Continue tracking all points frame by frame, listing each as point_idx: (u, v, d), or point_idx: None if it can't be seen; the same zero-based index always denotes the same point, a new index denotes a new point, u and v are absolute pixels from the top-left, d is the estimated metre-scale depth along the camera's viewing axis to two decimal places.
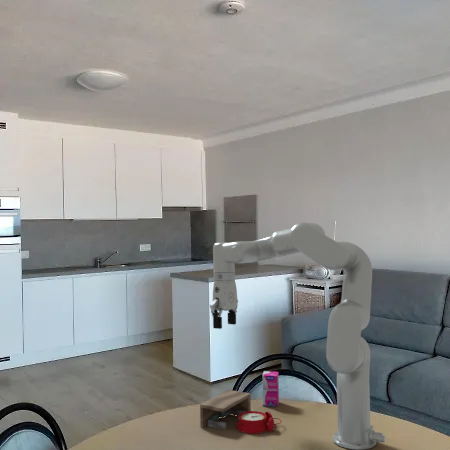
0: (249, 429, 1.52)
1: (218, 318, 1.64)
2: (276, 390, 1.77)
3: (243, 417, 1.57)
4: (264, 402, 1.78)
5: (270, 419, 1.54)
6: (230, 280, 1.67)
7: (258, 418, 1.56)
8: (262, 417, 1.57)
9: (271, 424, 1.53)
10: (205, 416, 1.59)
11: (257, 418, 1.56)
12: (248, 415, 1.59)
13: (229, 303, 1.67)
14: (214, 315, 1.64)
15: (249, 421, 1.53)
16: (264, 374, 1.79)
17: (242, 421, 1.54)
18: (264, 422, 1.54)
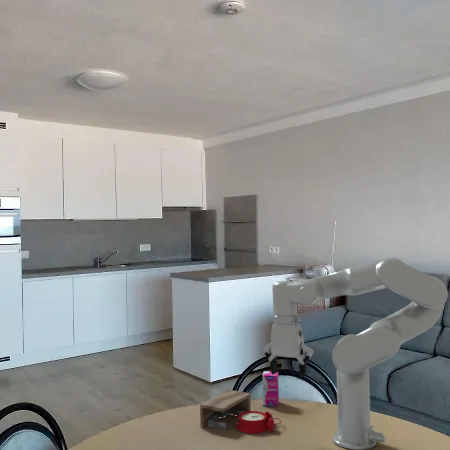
0: (249, 429, 1.52)
1: None
2: (276, 390, 1.77)
3: (243, 417, 1.57)
4: (264, 402, 1.78)
5: (270, 419, 1.54)
6: None
7: (258, 418, 1.56)
8: (262, 417, 1.57)
9: (271, 424, 1.53)
10: (205, 416, 1.59)
11: (257, 418, 1.56)
12: (248, 415, 1.59)
13: None
14: (306, 362, 1.49)
15: (249, 421, 1.53)
16: (264, 374, 1.79)
17: (242, 421, 1.54)
18: (264, 422, 1.54)
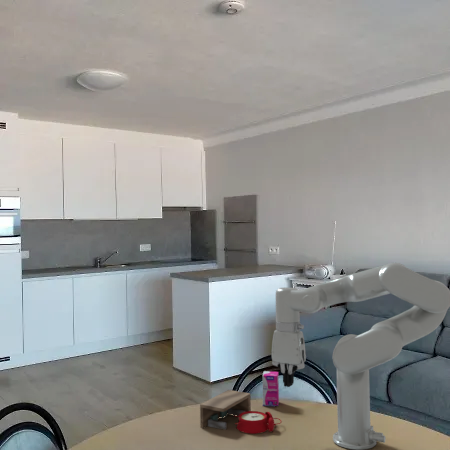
0: (249, 429, 1.52)
1: None
2: (276, 390, 1.77)
3: (243, 417, 1.57)
4: (264, 402, 1.78)
5: (270, 419, 1.54)
6: None
7: (258, 418, 1.56)
8: (262, 417, 1.57)
9: (271, 424, 1.53)
10: (205, 416, 1.59)
11: (257, 418, 1.56)
12: (248, 415, 1.59)
13: None
14: (293, 372, 1.51)
15: (249, 421, 1.53)
16: (264, 374, 1.79)
17: (242, 421, 1.54)
18: (264, 422, 1.54)
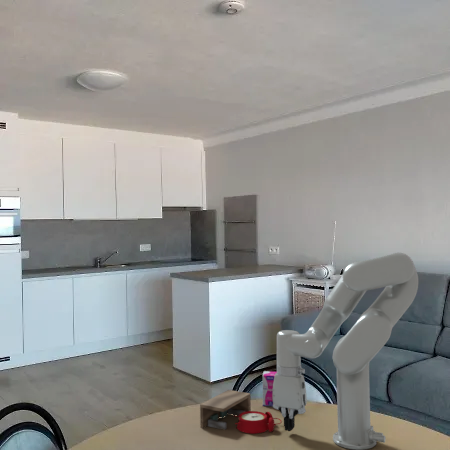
0: (249, 429, 1.52)
1: None
2: None
3: (243, 417, 1.57)
4: (264, 402, 1.78)
5: (270, 419, 1.54)
6: None
7: (258, 418, 1.56)
8: (262, 417, 1.57)
9: (271, 424, 1.53)
10: (205, 416, 1.59)
11: (257, 418, 1.56)
12: (248, 415, 1.59)
13: None
14: (294, 416, 1.50)
15: (249, 421, 1.53)
16: (264, 374, 1.79)
17: (242, 421, 1.54)
18: (264, 422, 1.54)
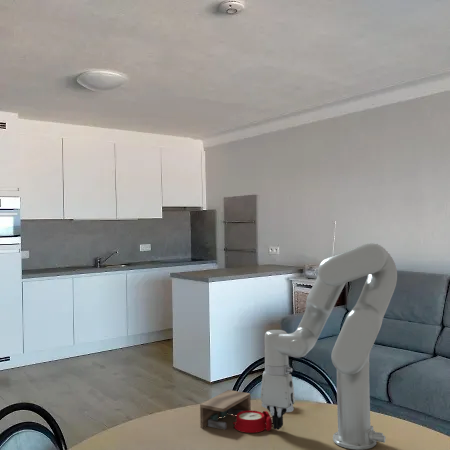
0: (247, 428, 1.53)
1: None
2: None
3: (241, 416, 1.57)
4: None
5: (268, 418, 1.54)
6: None
7: (256, 417, 1.56)
8: (260, 416, 1.57)
9: (269, 423, 1.53)
10: (205, 416, 1.59)
11: (255, 417, 1.56)
12: (246, 414, 1.59)
13: None
14: (282, 414, 1.52)
15: (247, 420, 1.53)
16: None
17: (240, 420, 1.54)
18: (262, 421, 1.55)
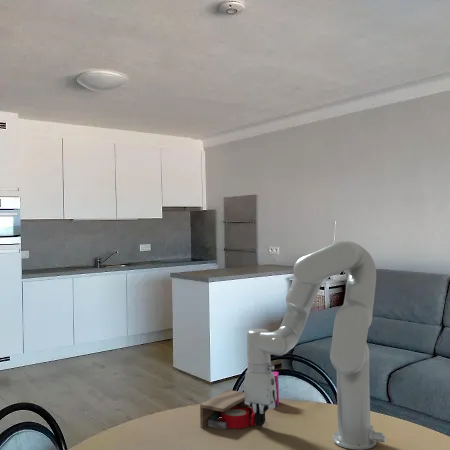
0: (233, 424, 1.56)
1: None
2: (276, 390, 1.77)
3: (226, 413, 1.61)
4: None
5: (253, 414, 1.58)
6: None
7: (241, 413, 1.60)
8: (245, 412, 1.61)
9: (254, 419, 1.57)
10: (205, 416, 1.59)
11: (240, 413, 1.60)
12: (231, 411, 1.63)
13: None
14: (265, 411, 1.55)
15: (232, 416, 1.57)
16: None
17: (226, 417, 1.58)
18: (247, 417, 1.59)
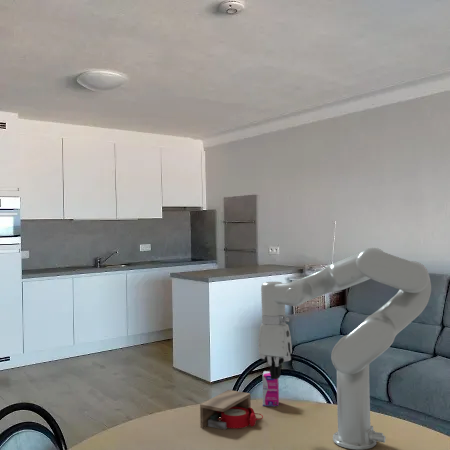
0: (232, 424, 1.57)
1: None
2: (276, 390, 1.77)
3: (226, 413, 1.61)
4: (264, 402, 1.78)
5: (252, 414, 1.58)
6: None
7: (240, 413, 1.60)
8: (244, 412, 1.61)
9: (253, 419, 1.57)
10: (205, 416, 1.59)
11: (239, 413, 1.60)
12: (231, 411, 1.63)
13: None
14: (280, 364, 1.53)
15: (231, 416, 1.57)
16: (264, 374, 1.79)
17: (225, 416, 1.58)
18: (246, 417, 1.59)
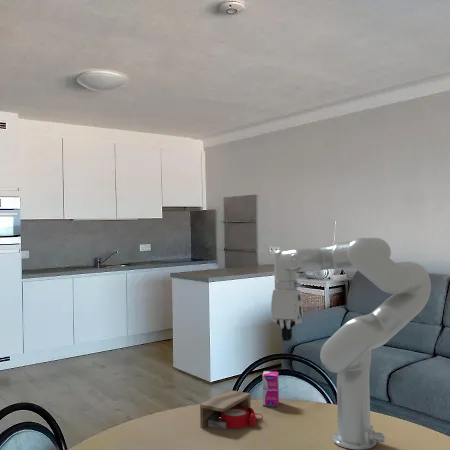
0: (231, 424, 1.57)
1: None
2: (276, 390, 1.77)
3: (226, 413, 1.61)
4: (264, 402, 1.78)
5: (252, 414, 1.58)
6: None
7: (240, 413, 1.60)
8: (244, 412, 1.61)
9: (253, 419, 1.57)
10: (205, 416, 1.59)
11: (239, 413, 1.60)
12: (231, 411, 1.63)
13: None
14: (291, 327, 1.62)
15: (231, 416, 1.57)
16: (264, 374, 1.79)
17: (224, 416, 1.58)
18: (246, 417, 1.59)
